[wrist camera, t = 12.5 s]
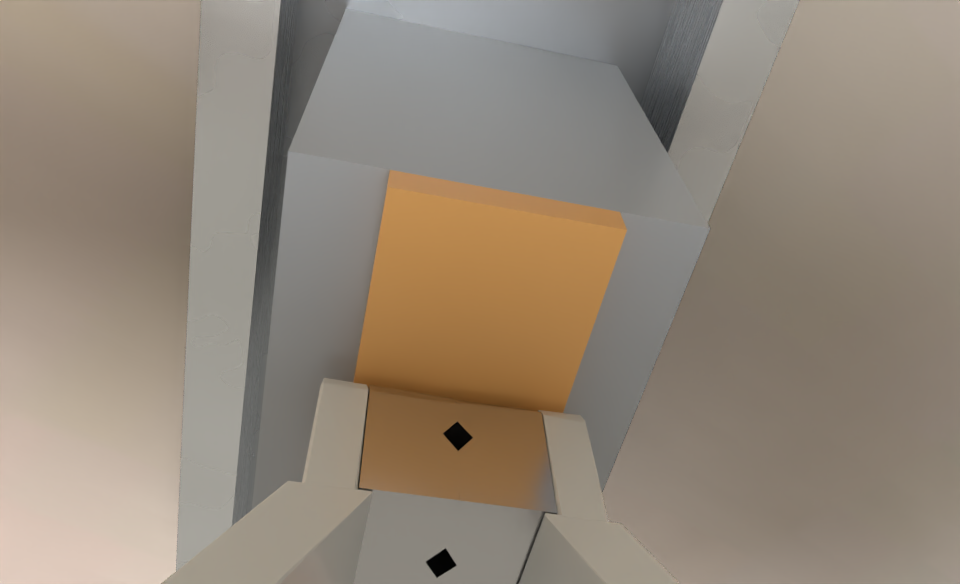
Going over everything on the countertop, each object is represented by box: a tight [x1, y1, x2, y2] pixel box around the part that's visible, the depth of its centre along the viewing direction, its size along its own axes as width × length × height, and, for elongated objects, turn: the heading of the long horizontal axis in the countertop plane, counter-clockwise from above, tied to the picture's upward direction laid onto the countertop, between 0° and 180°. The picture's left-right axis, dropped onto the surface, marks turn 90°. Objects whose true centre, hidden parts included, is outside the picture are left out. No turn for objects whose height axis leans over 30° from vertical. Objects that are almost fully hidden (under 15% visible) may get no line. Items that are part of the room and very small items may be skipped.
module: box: [252, 9, 710, 510], centre depth 12 cm, size 4×6×6 cm
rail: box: [176, 0, 800, 571], centre depth 14 cm, size 8×20×3 cm, turn 167°
